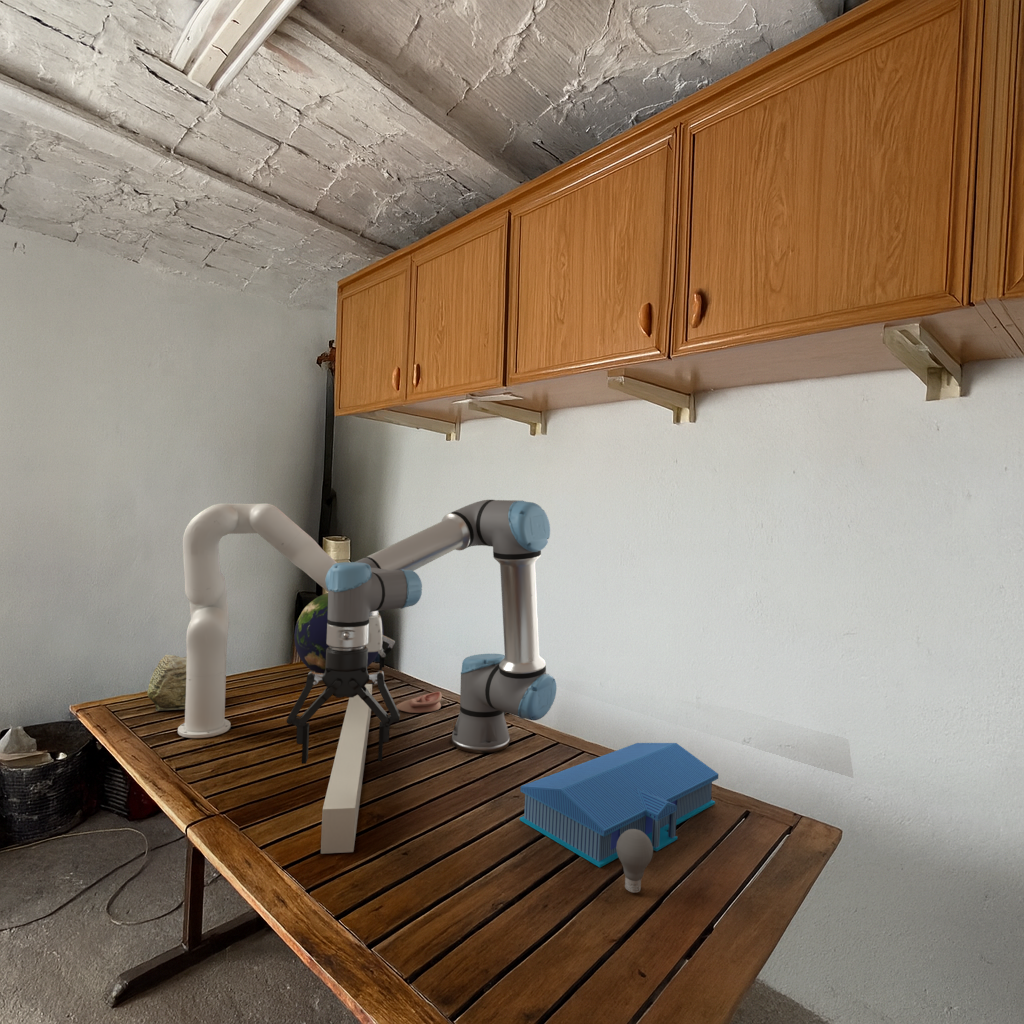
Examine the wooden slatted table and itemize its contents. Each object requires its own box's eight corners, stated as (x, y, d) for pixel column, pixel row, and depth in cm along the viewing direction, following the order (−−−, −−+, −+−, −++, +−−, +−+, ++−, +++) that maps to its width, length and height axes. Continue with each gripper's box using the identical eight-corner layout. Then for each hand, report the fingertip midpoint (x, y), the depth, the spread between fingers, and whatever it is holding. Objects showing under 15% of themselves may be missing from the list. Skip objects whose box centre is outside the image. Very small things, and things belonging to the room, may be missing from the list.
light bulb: (610, 879, 108) (613, 822, 108) (644, 879, 109) (647, 822, 109) (619, 902, 102) (622, 840, 102) (655, 901, 103) (658, 840, 103)
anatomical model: (391, 697, 188) (405, 686, 200) (390, 710, 188) (404, 699, 200) (433, 702, 186) (445, 691, 197) (433, 715, 186) (445, 703, 197)
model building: (614, 876, 110) (616, 818, 109) (518, 819, 128) (520, 770, 127) (729, 809, 136) (731, 762, 136) (635, 769, 154) (637, 729, 154)
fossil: (144, 707, 182) (145, 655, 182) (212, 696, 194) (213, 647, 194) (151, 716, 175) (153, 662, 175) (221, 703, 188) (223, 653, 188)
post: (351, 711, 187) (352, 684, 187) (371, 710, 188) (372, 684, 188) (320, 853, 113) (322, 809, 113) (353, 852, 114) (355, 807, 114)
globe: (273, 681, 212) (276, 592, 212) (330, 661, 240) (333, 582, 239) (347, 695, 201) (350, 601, 200) (398, 673, 229) (401, 590, 228)
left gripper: (332, 613, 177) (331, 674, 177) (395, 613, 180) (394, 673, 180) (335, 609, 184) (334, 667, 185) (395, 608, 187) (394, 666, 188)
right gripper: (272, 651, 112) (268, 770, 112) (415, 651, 116) (411, 765, 116) (280, 641, 119) (276, 753, 119) (414, 641, 123) (410, 749, 124)
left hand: (363, 670), depth 183 cm, fingers open, 9 cm apart
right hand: (342, 759), depth 118 cm, fingers open, 13 cm apart
